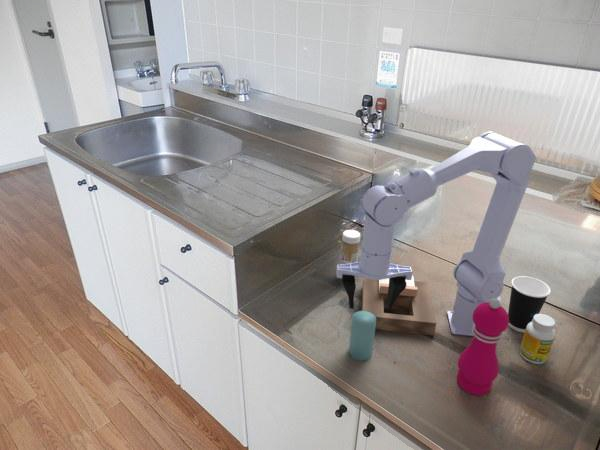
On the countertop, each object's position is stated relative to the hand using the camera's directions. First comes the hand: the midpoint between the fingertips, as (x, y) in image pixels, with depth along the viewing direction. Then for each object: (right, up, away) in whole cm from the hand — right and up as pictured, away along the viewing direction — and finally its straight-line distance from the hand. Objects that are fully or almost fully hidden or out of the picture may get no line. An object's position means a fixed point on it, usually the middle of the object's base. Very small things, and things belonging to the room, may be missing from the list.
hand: (369, 306), depth 92 cm
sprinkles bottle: (-1, +2, +28) cm, 29 cm away
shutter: (+9, +1, +19) cm, 21 cm away
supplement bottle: (+35, -11, +3) cm, 37 cm away
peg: (-1, -10, +3) cm, 11 cm away
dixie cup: (+36, -7, +12) cm, 39 cm away
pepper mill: (+20, -14, -4) cm, 25 cm away
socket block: (+9, -4, +16) cm, 19 cm away
